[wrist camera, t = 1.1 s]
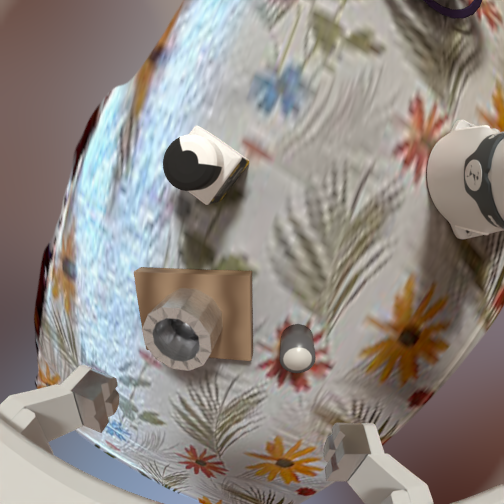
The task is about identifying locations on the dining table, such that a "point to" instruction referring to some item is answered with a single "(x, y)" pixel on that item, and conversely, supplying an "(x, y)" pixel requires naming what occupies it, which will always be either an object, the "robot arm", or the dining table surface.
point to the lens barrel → (183, 329)
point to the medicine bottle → (203, 165)
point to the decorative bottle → (455, 13)
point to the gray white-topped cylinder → (297, 349)
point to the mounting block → (217, 287)
